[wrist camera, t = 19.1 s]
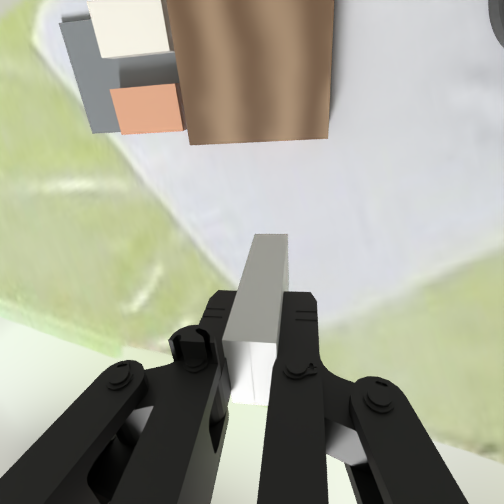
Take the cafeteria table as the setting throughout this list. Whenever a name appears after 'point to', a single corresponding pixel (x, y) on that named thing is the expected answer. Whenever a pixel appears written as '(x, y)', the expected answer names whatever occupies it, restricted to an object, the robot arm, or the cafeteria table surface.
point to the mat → (110, 73)
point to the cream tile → (131, 27)
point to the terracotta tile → (149, 109)
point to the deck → (253, 68)
